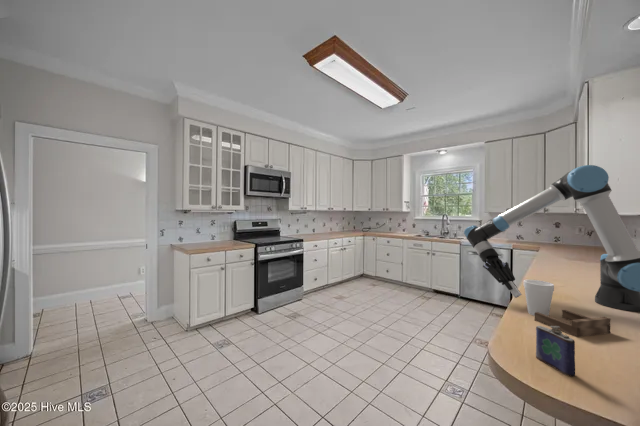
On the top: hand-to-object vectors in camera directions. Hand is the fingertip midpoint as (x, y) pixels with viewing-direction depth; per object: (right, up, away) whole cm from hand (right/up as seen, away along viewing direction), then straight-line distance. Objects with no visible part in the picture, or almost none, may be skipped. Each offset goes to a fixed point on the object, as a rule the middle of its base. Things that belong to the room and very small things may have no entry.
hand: (518, 296), depth 111 cm
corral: (+4, -5, -18) cm, 19 cm away
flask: (-24, -5, -43) cm, 50 cm away
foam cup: (+2, -5, -8) cm, 9 cm away
